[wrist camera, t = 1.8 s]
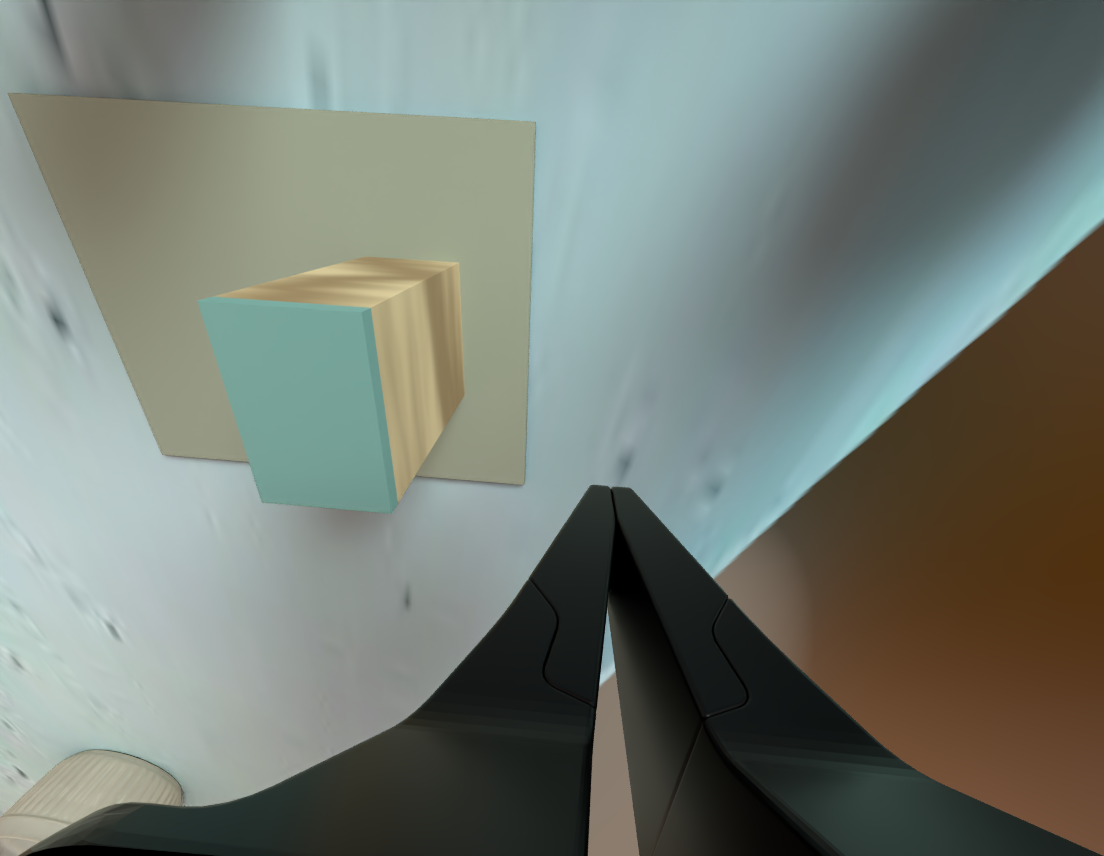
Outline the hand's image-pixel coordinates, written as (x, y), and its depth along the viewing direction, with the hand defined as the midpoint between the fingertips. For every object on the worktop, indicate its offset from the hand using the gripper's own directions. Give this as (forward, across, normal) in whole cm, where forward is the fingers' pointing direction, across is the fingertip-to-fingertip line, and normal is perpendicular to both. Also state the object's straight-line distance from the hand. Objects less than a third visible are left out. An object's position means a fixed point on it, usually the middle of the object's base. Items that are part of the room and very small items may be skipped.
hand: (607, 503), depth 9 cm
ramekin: (+12, +42, +48) cm, 65 cm away
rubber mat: (+12, +13, 0) cm, 18 cm away
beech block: (+12, +8, 0) cm, 14 cm away
